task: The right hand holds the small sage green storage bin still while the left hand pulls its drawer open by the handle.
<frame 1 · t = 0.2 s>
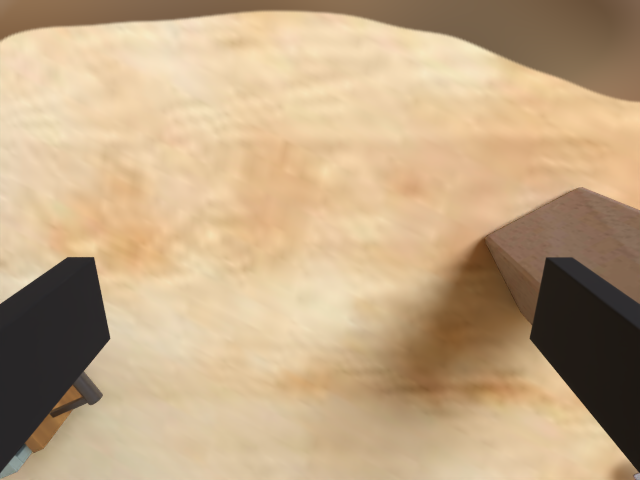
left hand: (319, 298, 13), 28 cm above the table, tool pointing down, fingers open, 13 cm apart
wooden block: (547, 251, 42), on the table
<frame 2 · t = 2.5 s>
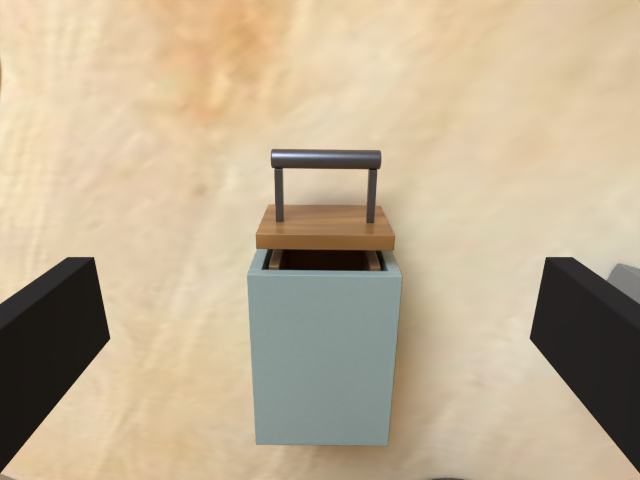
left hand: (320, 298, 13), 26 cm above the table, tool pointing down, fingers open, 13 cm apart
digital clock: (634, 308, 43), on the table
sage green storage bin: (322, 306, 43), on the table
drawer: (324, 269, 36), point 5 cm above the table, slide at 1.6 cm
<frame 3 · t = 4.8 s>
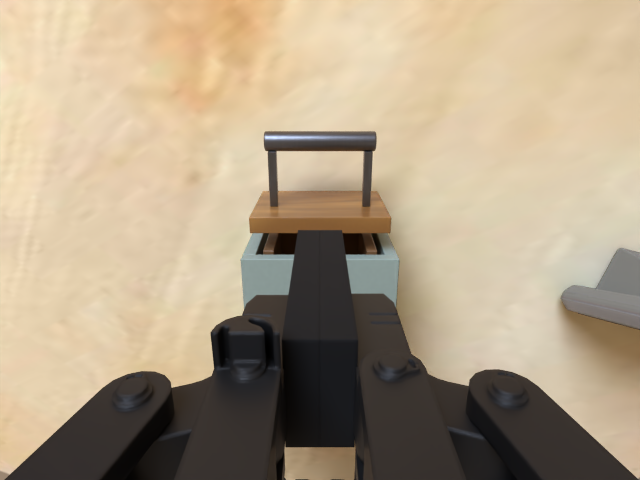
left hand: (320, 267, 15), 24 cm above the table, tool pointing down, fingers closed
digital clock: (636, 294, 42), on the table
sage green storage bin: (320, 295, 42), on the table, touching right hand
drawer: (320, 256, 35), point 5 cm above the table, slide at 1.6 cm
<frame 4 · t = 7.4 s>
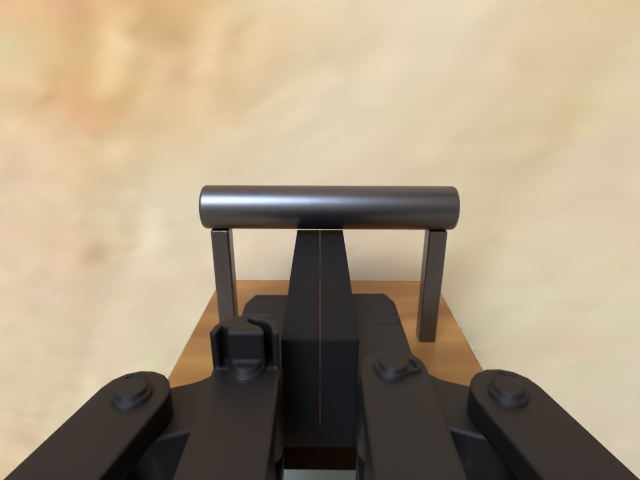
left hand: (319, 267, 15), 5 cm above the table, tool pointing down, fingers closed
sage green storage bin: (325, 442, 25), on the table, touching right hand
drawer: (326, 418, 18), point 5 cm above the table, slide at 1.7 cm
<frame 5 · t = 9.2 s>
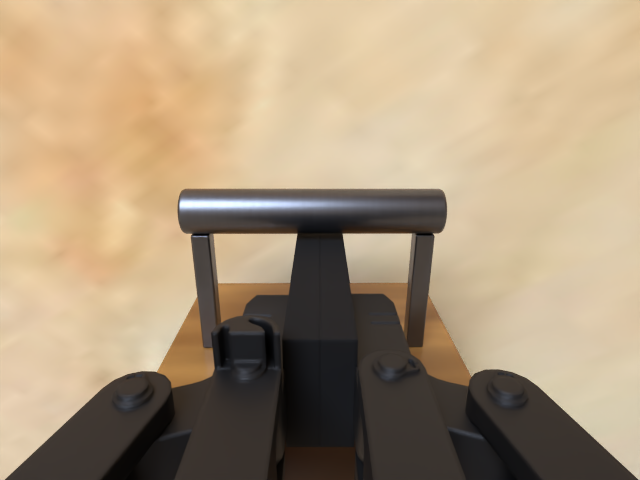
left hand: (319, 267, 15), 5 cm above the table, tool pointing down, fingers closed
drawer: (313, 424, 18), point 5 cm above the table, slide at 8.6 cm, touching left hand
when the right hand's fingers open (5 cm above the table, at t = 10.7 s): sage green storage bin stays where it is, on the table.
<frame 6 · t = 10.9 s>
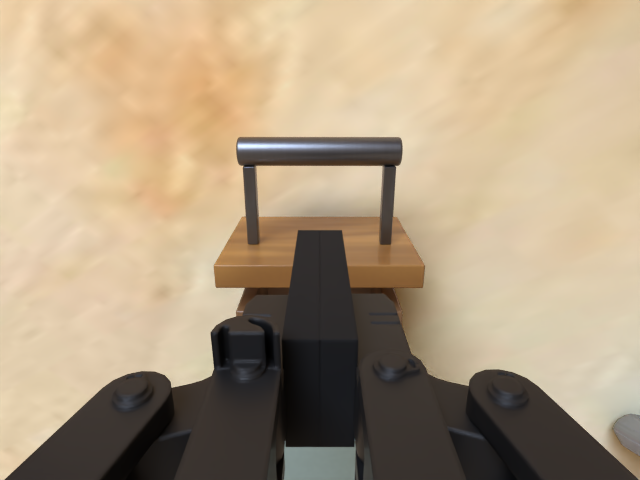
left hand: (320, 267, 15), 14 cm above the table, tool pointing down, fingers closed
sage green storage bin: (319, 421, 35), on the table
drawer: (319, 309, 25), point 5 cm above the table, slide at 8.6 cm
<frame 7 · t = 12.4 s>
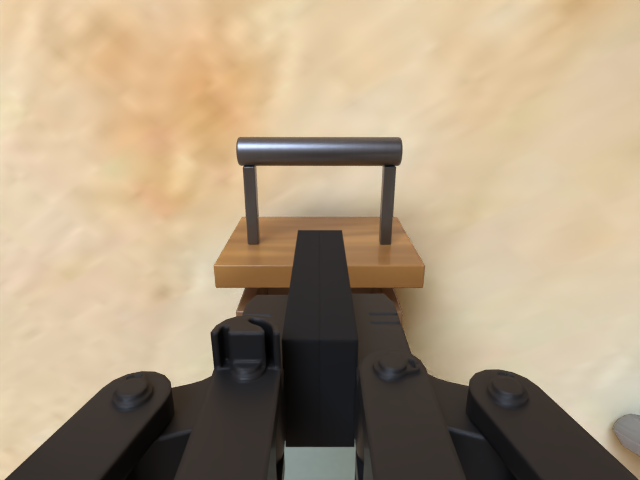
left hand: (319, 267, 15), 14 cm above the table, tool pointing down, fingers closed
sage green storage bin: (319, 421, 35), on the table
drawer: (319, 309, 25), point 5 cm above the table, slide at 8.6 cm
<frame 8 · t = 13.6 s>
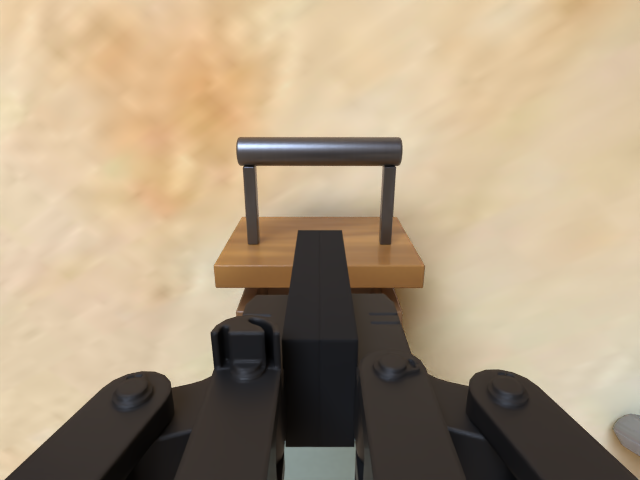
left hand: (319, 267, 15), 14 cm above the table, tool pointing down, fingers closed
sage green storage bin: (319, 421, 35), on the table
drawer: (319, 309, 25), point 5 cm above the table, slide at 8.6 cm
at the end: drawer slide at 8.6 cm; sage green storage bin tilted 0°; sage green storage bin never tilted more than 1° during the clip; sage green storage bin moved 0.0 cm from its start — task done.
